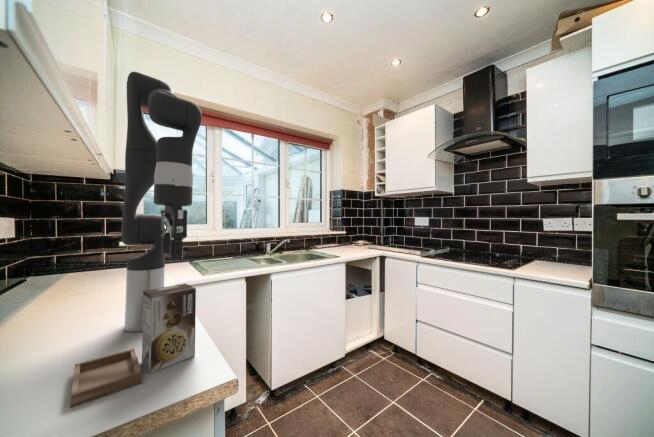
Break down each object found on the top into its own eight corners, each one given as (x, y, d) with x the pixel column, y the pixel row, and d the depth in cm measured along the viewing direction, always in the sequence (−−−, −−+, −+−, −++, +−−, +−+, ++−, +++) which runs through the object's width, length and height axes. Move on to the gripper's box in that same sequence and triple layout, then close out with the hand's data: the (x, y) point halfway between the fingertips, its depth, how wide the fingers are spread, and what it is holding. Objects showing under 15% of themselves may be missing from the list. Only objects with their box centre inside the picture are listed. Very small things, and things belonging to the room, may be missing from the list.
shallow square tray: (74, 374, 51) (75, 364, 51) (134, 357, 57) (134, 348, 57) (70, 407, 42) (71, 395, 42) (141, 383, 48) (141, 372, 48)
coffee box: (184, 347, 62) (186, 282, 62) (195, 356, 58) (197, 287, 58) (140, 362, 55) (142, 290, 55) (149, 374, 51) (151, 296, 51)
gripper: (149, 185, 60) (147, 252, 59) (160, 179, 49) (158, 261, 49) (184, 188, 65) (182, 250, 65) (201, 184, 54) (199, 258, 54)
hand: (171, 255), depth 57 cm, fingers open, 8 cm apart
